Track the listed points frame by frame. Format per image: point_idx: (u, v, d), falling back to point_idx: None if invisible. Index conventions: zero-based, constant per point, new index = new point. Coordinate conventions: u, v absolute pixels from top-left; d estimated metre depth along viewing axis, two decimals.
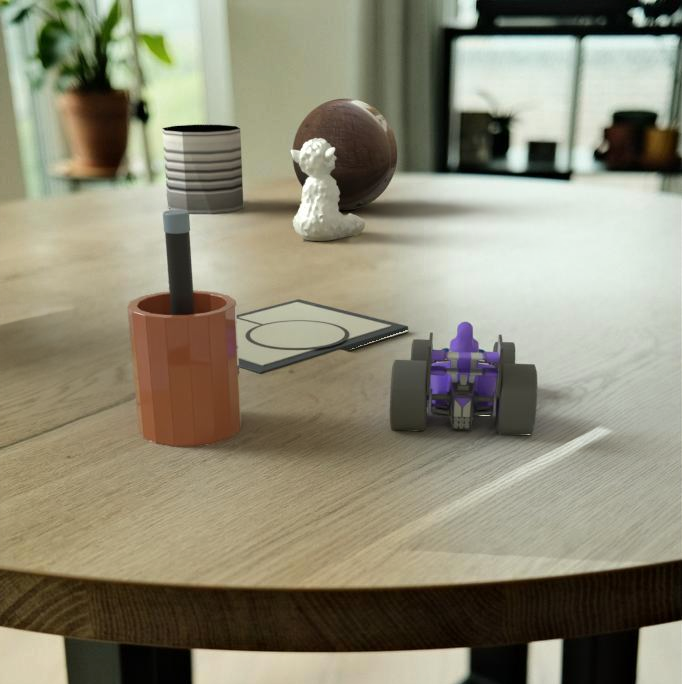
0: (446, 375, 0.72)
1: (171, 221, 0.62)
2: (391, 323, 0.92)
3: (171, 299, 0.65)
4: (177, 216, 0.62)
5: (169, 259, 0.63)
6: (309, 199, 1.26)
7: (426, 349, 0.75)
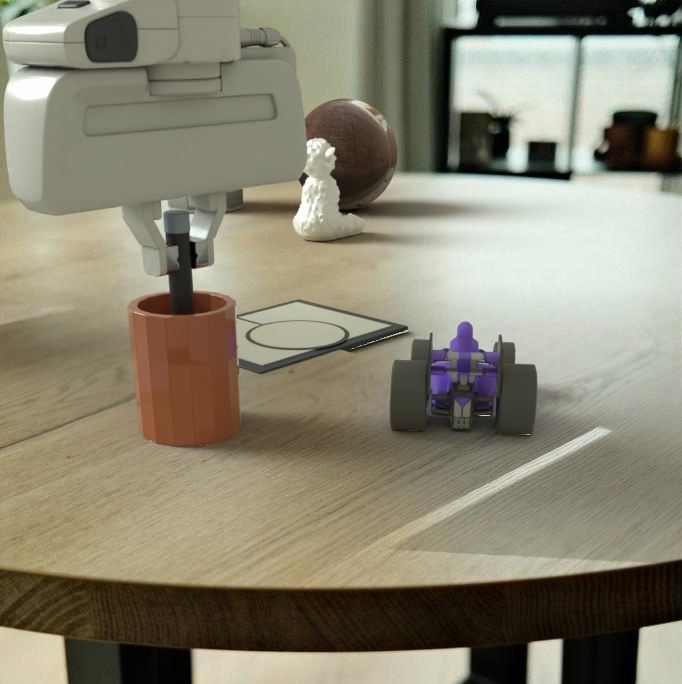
0: (446, 375, 0.72)
1: (171, 221, 0.62)
2: (391, 323, 0.92)
3: (171, 299, 0.65)
4: (177, 216, 0.62)
5: None
6: (309, 199, 1.26)
7: (426, 349, 0.75)
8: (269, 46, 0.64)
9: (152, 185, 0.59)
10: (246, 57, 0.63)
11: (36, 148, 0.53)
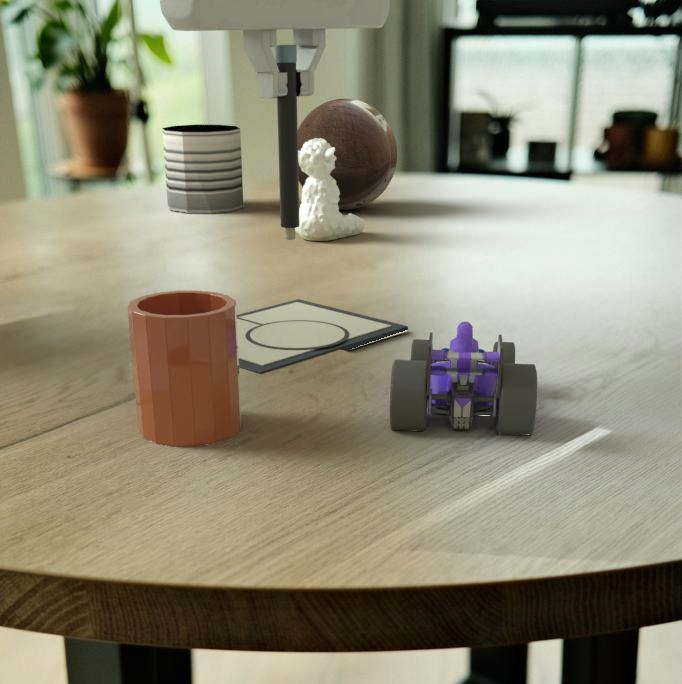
0: (446, 375, 0.72)
1: (282, 51, 0.75)
2: (391, 323, 0.92)
3: (279, 122, 0.77)
4: (288, 47, 0.75)
5: None
6: (309, 199, 1.26)
7: (426, 349, 0.75)
8: None
9: (272, 13, 0.72)
10: None
11: None
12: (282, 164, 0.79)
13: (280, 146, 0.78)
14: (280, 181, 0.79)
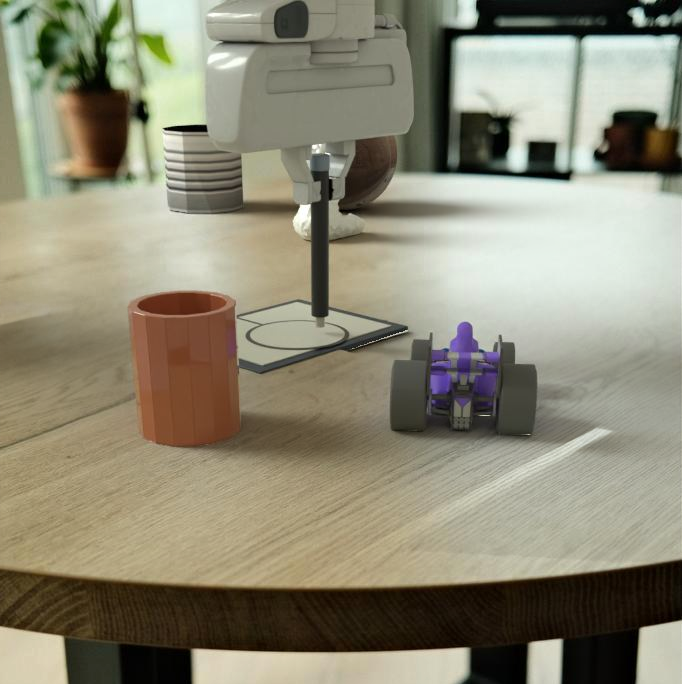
0: (446, 375, 0.72)
1: (316, 161, 0.81)
2: (391, 323, 0.92)
3: (312, 223, 0.84)
4: (322, 157, 0.81)
5: None
6: None
7: (426, 349, 0.75)
8: (388, 28, 0.83)
9: (308, 132, 0.78)
10: (372, 36, 0.82)
11: (234, 101, 0.73)
12: (314, 260, 0.85)
13: (312, 244, 0.85)
14: (312, 275, 0.86)
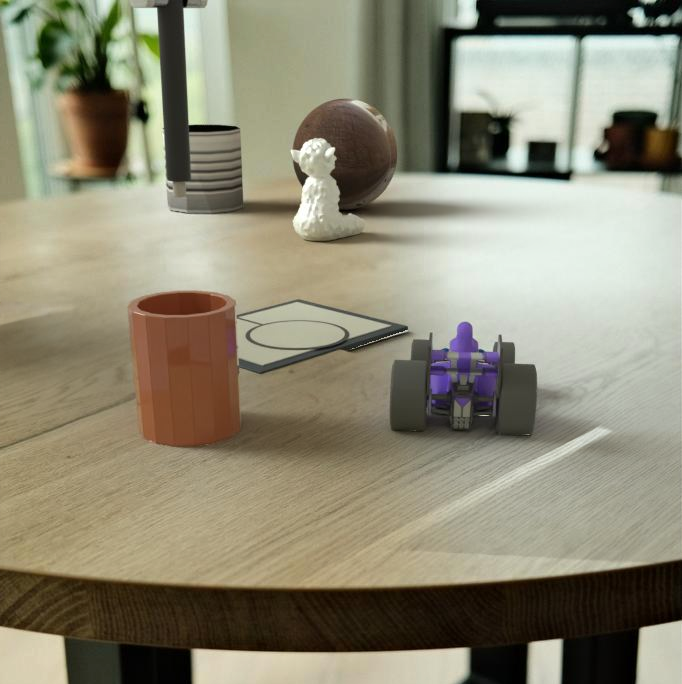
0: (446, 375, 0.72)
1: None
2: (391, 323, 0.92)
3: (160, 39, 0.59)
4: None
5: None
6: (309, 199, 1.26)
7: (426, 349, 0.75)
8: None
9: None
10: None
11: None
12: (165, 96, 0.60)
13: (162, 72, 0.59)
14: (164, 119, 0.61)
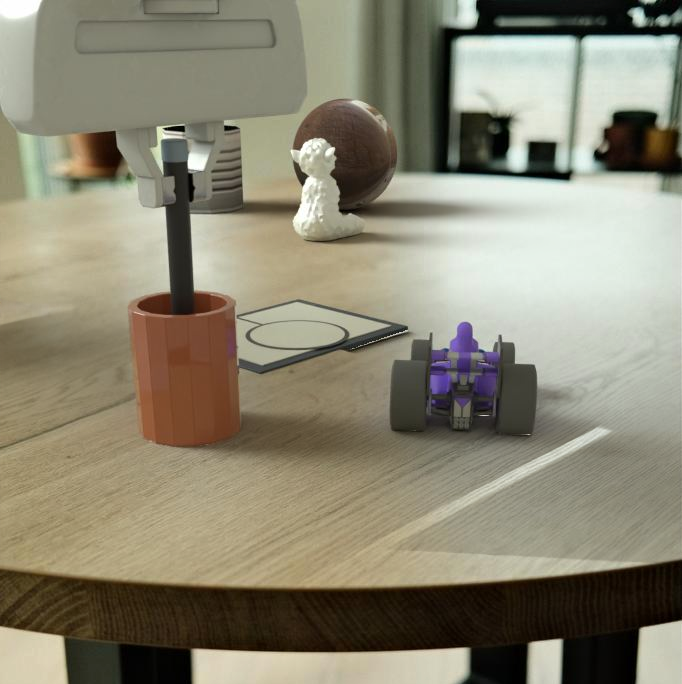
0: (446, 375, 0.72)
1: (169, 149, 0.60)
2: (391, 323, 0.92)
3: (168, 231, 0.63)
4: (175, 144, 0.60)
5: None
6: (309, 199, 1.26)
7: (426, 349, 0.75)
8: None
9: (148, 109, 0.57)
10: None
11: (27, 63, 0.52)
12: (172, 281, 0.64)
13: (170, 260, 0.64)
14: (171, 300, 0.65)
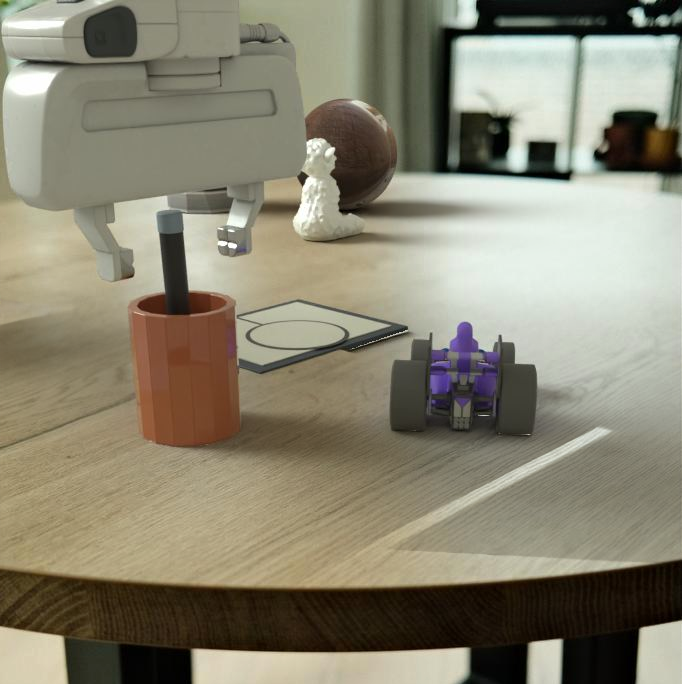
0: (446, 375, 0.72)
1: (164, 221, 0.62)
2: (391, 323, 0.92)
3: (167, 299, 0.65)
4: (170, 216, 0.62)
5: (164, 259, 0.63)
6: (309, 199, 1.26)
7: (426, 349, 0.75)
8: (269, 42, 0.64)
9: (152, 180, 0.59)
10: (246, 53, 0.62)
11: (35, 143, 0.53)
12: None
13: None
14: None
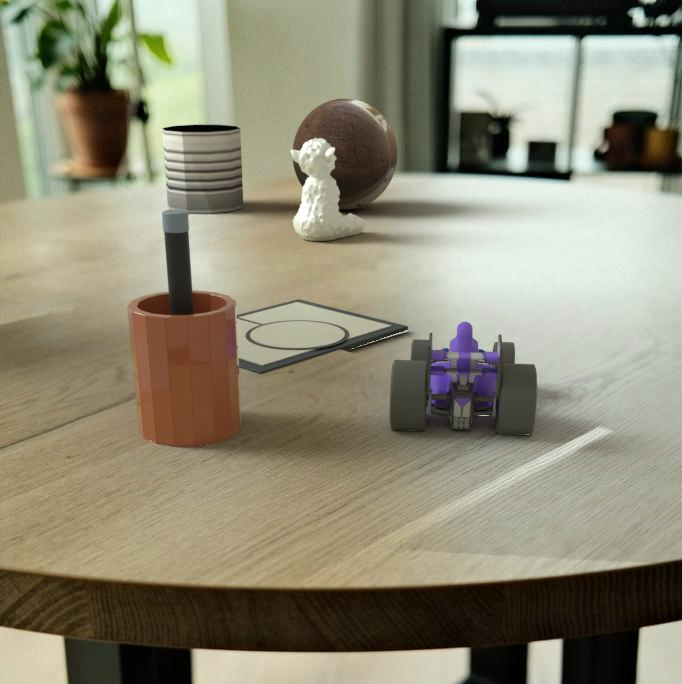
0: (446, 375, 0.72)
1: (170, 221, 0.62)
2: (391, 323, 0.92)
3: (170, 298, 0.65)
4: (176, 215, 0.62)
5: (168, 258, 0.64)
6: (309, 199, 1.26)
7: (426, 349, 0.75)
8: None
9: None
10: None
11: None
12: None
13: None
14: None
